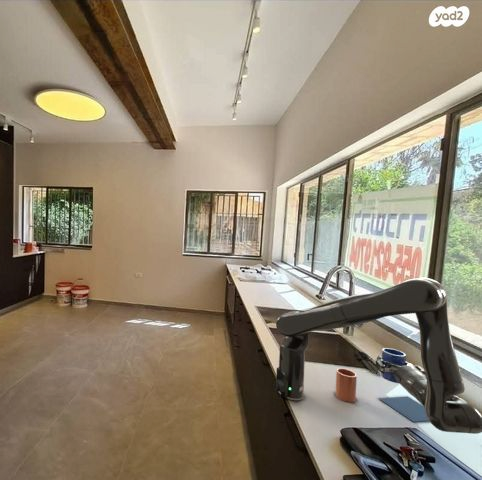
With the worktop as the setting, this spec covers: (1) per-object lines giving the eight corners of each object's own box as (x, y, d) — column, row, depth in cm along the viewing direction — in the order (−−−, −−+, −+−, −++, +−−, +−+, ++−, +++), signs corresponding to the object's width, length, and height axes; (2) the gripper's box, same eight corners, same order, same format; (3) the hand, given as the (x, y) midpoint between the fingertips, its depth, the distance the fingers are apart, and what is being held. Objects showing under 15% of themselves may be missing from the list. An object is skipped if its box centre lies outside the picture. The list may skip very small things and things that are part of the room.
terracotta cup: (344, 402, 104) (345, 377, 103) (331, 392, 110) (332, 368, 110) (359, 401, 104) (361, 376, 104) (346, 391, 111) (347, 367, 111)
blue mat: (413, 422, 93) (413, 421, 93) (378, 399, 106) (378, 398, 106) (445, 419, 95) (445, 419, 95) (407, 397, 108) (407, 396, 108)
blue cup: (393, 383, 96) (394, 356, 96) (376, 374, 102) (377, 348, 102) (409, 383, 97) (410, 355, 96) (391, 373, 103) (393, 347, 103)
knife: (381, 377, 123) (382, 374, 123) (364, 373, 126) (364, 370, 126) (367, 354, 146) (367, 352, 146) (353, 351, 148) (353, 349, 148)
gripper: (445, 375, 83) (414, 353, 99) (389, 367, 88) (368, 347, 104) (444, 399, 84) (413, 373, 99) (388, 390, 88) (367, 366, 104)
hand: (390, 359), depth 102 cm, fingers closed on blue cup, 6 cm apart
